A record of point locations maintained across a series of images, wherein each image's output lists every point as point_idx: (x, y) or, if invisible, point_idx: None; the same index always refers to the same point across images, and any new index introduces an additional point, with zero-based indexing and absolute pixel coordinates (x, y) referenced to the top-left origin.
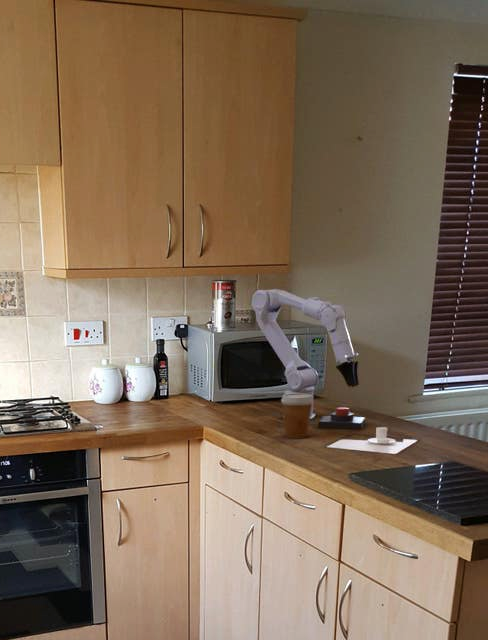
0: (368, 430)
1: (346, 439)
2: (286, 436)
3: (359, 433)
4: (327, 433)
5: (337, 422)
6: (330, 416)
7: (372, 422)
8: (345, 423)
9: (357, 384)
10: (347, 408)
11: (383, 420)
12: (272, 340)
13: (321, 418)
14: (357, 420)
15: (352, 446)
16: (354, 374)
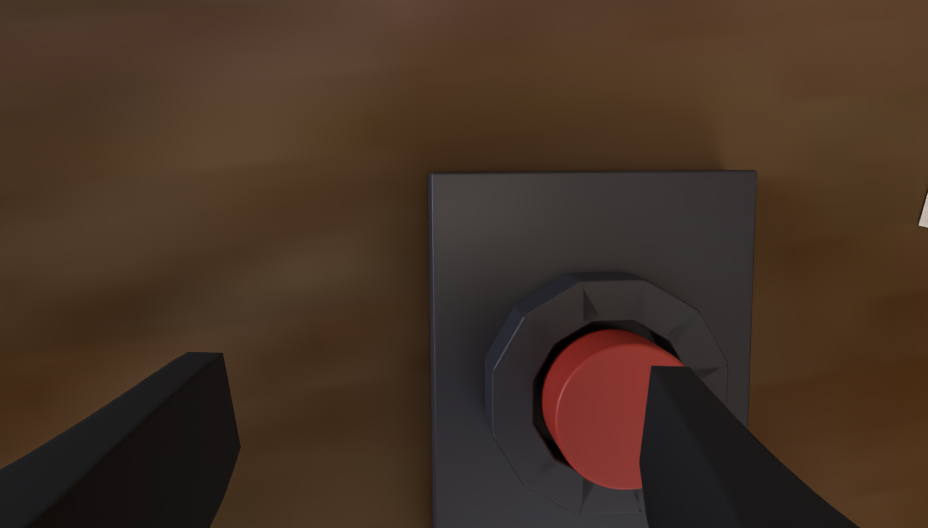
0: (717, 102)
1: None
2: None
3: (862, 165)
4: (901, 426)
5: (747, 398)
6: (456, 520)
7: (308, 109)
8: (747, 321)
9: (222, 369)
10: (634, 361)
11: (167, 9)
12: None
13: None
14: (628, 224)
15: None
16: (106, 524)
